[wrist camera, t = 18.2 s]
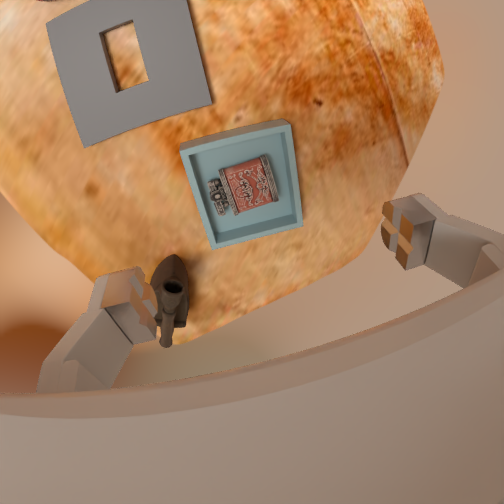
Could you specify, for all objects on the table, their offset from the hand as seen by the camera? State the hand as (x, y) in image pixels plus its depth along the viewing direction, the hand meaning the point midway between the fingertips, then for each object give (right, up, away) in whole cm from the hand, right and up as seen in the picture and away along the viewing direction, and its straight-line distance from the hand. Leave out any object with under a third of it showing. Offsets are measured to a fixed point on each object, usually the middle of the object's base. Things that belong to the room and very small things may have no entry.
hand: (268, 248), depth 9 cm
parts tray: (-2, +11, +38) cm, 40 cm away
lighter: (+3, +11, +36) cm, 38 cm away
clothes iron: (-16, -5, +48) cm, 51 cm away
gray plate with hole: (-18, +27, +22) cm, 40 cm away
